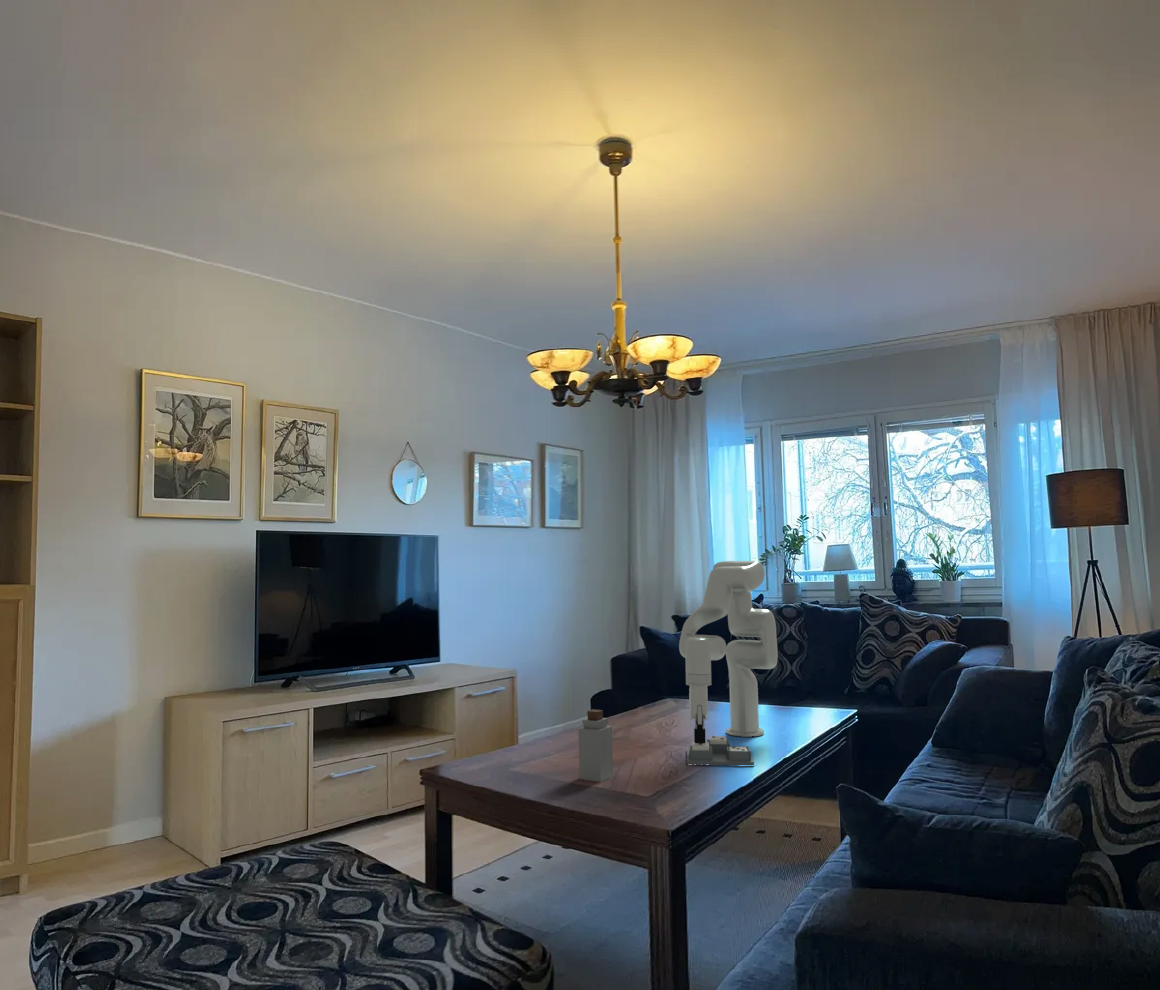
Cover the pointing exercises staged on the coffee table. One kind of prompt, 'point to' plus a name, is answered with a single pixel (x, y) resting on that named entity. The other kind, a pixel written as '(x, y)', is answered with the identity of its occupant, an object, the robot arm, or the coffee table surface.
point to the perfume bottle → (595, 748)
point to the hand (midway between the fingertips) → (699, 742)
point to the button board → (719, 755)
